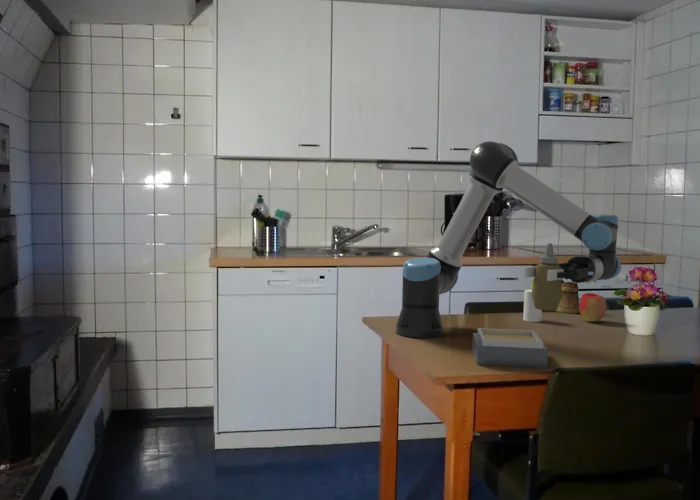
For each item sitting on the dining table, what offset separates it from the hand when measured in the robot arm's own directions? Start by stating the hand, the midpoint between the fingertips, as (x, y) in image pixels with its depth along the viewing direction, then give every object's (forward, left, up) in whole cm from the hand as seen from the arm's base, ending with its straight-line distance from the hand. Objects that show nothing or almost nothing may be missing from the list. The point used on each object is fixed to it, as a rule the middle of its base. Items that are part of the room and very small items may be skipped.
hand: (537, 273), depth 181 cm
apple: (+31, +62, -24) cm, 73 cm away
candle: (+10, +60, -24) cm, 65 cm away
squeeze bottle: (+3, +4, -10) cm, 11 cm away
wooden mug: (+25, +82, -24) cm, 89 cm away
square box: (-6, +2, -24) cm, 25 cm away
